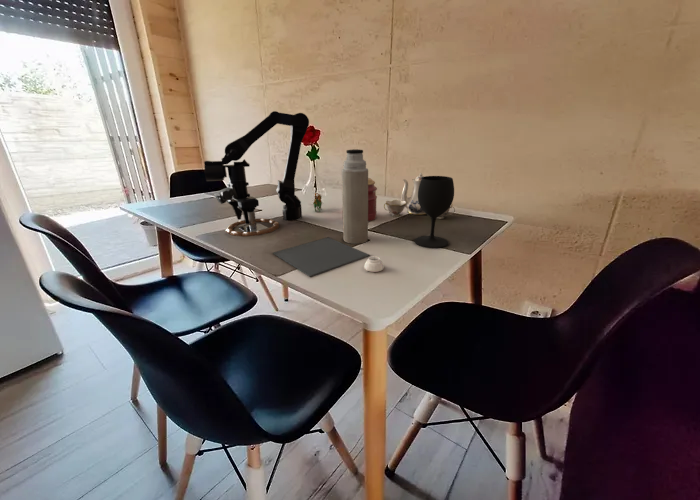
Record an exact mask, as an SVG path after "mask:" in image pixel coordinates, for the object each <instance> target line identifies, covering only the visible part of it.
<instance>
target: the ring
mask: <svg viewBox="0 0 700 500" xmlns="http://www.w3.org/2000/svg"><path fill="white" fill-rule="evenodd" d="M256 223H267V224H271V225H272V226H270V227H268V228H266V229H262V230H258V231H253V232H245V231H237V230H234V228H236V227H239V226H241V225H247V224H246V223H245V219H243V220H242V219H241V220H237V221H235V222H233V223H230V224H228V226H227V228H225V232H226V234H228V235H230V236H237V237H255V236H261V235H265V234H269V233H272V232H274V231H275V230H278V229H279V228H280V223H279V222H278V221H276V220H274V219H271V218H262V217H261V218H260V217H259V218H256Z"/></svg>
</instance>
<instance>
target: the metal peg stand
mask: <svg viewBox="0 0 700 500" xmlns="http://www.w3.org/2000/svg"><path fill="white" fill-rule="evenodd" d="M255 211H256V210H254V211H248V219H249V224H247V225H244V226H237V227H238V229H240V230H241V231H242V232H256V231H261V230H265V229H269V227H268V226H266V225H264V224H262V223H261V222H256V219H257V218H256V212H255Z"/></svg>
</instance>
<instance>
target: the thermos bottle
mask: <svg viewBox="0 0 700 500" xmlns="http://www.w3.org/2000/svg"><path fill="white" fill-rule="evenodd" d="M368 178H369V169H368V168H367V161H366V160H364V150H363V149H360V148H359V149H357V148H356V149H355V148H354V149H347V150H346V159H345V160H344V162H343V168H342V169H341V193H342V194H341V197H342V231H343V232H342V233H343V235H342V236H343V242H345V243H347V244H353V245H354V244H355V245H358V244H363V243H366V242H368V240H369V221H368Z"/></svg>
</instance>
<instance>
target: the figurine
mask: <svg viewBox="0 0 700 500" xmlns="http://www.w3.org/2000/svg"><path fill="white" fill-rule="evenodd" d="M313 197H314V201H313V203H312V204H313V208H314V212H317V211H322V210H323V209H322V205H323V202H322V198H323V197H322V194H321V193H318V192H315V193H314V196H313Z"/></svg>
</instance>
